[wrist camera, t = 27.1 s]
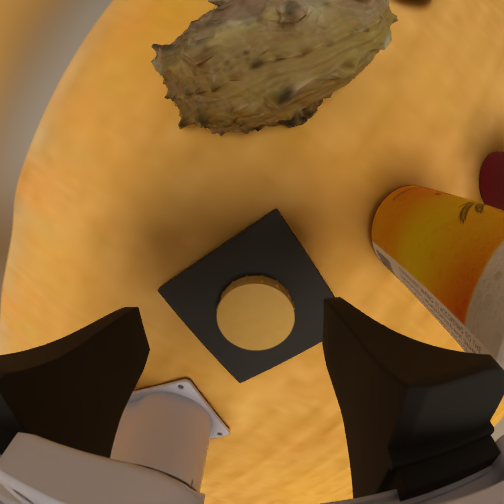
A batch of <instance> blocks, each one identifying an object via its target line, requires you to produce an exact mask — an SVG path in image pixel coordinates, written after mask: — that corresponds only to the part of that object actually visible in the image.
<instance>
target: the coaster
mask: <svg viewBox="0 0 504 504" xmlns="http://www.w3.org/2000/svg"><path fill="white" fill-rule="evenodd" d="M246 275H248V276H262V275H263V276H265V277H268V278H271V279H274V280H275V281H276V280H278V282H279V283H280V284H281V285H283V286H284V287H285V288H286V290H287V289H288V291H289V294H290V296H291V299H292V302H293V301H294V306H295V309H294V313H295V322H294V325H293V328H292V331H291V332H290V334H289V335H288V337H287V338H286V339H285V340H284V341H283V342H281V343H280V344H278V345H276V346H274V347H272V348H269V349H265V350H247V349H243V348H240V347H238V346H236V345H234V344H233V343H231V342H230V341H229V340H227V339H226V338H225V337H224V335H223V334H222V332H221V331H220V329H219V326H218V323H217V311H216V309H217V306H218V303H219V302H220V299H221V295H222V292H223V291H225V289H226V288H227V287H228V286H229V285H230V284H231V283H232V281H236V280H238V279H240V278H243V277H246ZM158 292H159V293H160V294H161V295H162V297H163V298H164V299H165V300H166V302H167V303H168V304H169V305H170V306H171V308H172V309H173V310H174V311H175V312H176V314H177V315H178V316H179V317H180V318H181V319H182V321H183V322H184V323H185V324H186V325H187V326H188V328H189V329H190V330H191V331H192V332H193V333H194V334H195V336H196V337H197V338H198V339H199V340H200V341H201V342H202V343H203V345H204V346H205V347H206V348H207V349H208V350H209V351H210V352H211V353H212V354H213V355H214V357H215V358H216V359H217V360H218V361H219V362H220V363H221V364H222V365H223V366H224V367H225V368H226V369H227V370H228V372H229V373H230V374H231V375H232V376H233V377H234V378H235V379H236V380H237V381H238V382H239V383H241V382H243V381H246V380H248V379H250V378H252V377H254V376H256V375H258V374H260V373H262V372H264V371H267V370H269V369H271V368H273V367H275V366H277V365H279V364H281V363H282V362H284V361H286V360H288V359H290V358H292V357H294V356H296V355H298V354H300V353H302V352H303V351H305V350H307V349H309V348H311V347H313V346H314V345H316V344H318V343H320V342H322V341H323V314H324V299H326V298H335V297H334V295H333V294H332V292H331V291H330V289H329V287H328V286H327V284H326V283H325V281H324V280H323V278H322V276H321V275H320V273H319V272H318V270H317V269H316V267H315V265H314V264H313V262H312V261H311V259H310V258H309V256H308V255H307V253H306V252H305V250H304V249H303V247H302V246H301V244H300V243H299V241H298V239H297V238H296V236H295V235H294V233H293V232H292V230H291V229H290V227H289V226H288V224H287V223H286V222H285V220H284V219H283V217H282V216H281V214H280V213H279V211H278V210H277V209H274V210H273V211H271V212H270V213H268V214H267V215H265V216H264V217H262V218H261V219H259V220H258V221H256V222H255V223H253V224H252V225H250V226H249V227H247V228H246V229H244V230H243V231H241V232H240V233H238V234H237V235H235V236H234V237H233V238H231V239H230V240H228V241H227V242H225V243H224V244H222V245H221V246H219V247H218V248H216V249H215V250H213V251H212V252H210V253H209V254H207V255H206V256H205V257H203V258H202V259H200V260H199V261H197V262H196V263H194V264H193V265H191V266H190V267H188V268H187V269H186V270H184V271H183V272H181V273H180V274H178V275H177V276H175V277H174V278H173V279H171V280H170V281H168V282H167V283H165V284H164V285H163V286H161V287H160V288H159V289H158Z"/></svg>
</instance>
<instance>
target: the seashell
mask: <svg viewBox="0 0 504 504" xmlns="http://www.w3.org/2000/svg"><path fill="white" fill-rule="evenodd" d="M208 1H209V2H211V3H213V4H215V5H217V6H218V8H216V9H213V10H211V11H209V12H208V13H206V14H204V15H202V16H201V17H200V18H199V19H198V20H195V21H192V22H191V23H190V25H189V28H188V29H187V30H185V31H184V33H183V34H182V35H181V36H179V37H178V38H177V39H176V40H175V41H174V42H173V43H171V44H170V45H158V44H153V45H152V48H153V49H154V50H155V51H156V54H157V56H156V57H155V59H154V60H152V61H151V62H152V64H153V66H154V68H155V70H156V71H157V72H159V73H160V75H162V76H163V78H164V81H163V84H165V85H166V86H167V88H168V92H167V95H166V96H165V98H167V99H169V98H171V100H172V101H174V102H175V106H178V108H179V109H180V114H179V115H180V117H181V118H182V119H181V120H180V122H179V124H178V125H179V127H180V129H182V128H184V127H186V126H188V125H190V124H192V123H194V124H195V125H198V126H199V127H200V128H201V127H204V128H210V130H211V132H212V134H214V133H217V132H218V133H219V134H220V135H221V136H222V135H223V134H224V133H225V132H227V131H230V130H231V131H233V132H244V133H246V134H247V133H248V132H249V131H252V130H254V129H256V130H257V131H259V130H261V129H262V128H263V127H264V126H265V125H266V126H270V127H271V126H274V127H275V126H278V125H282V124H284V125H286V126H288V127H289V128H291V127H295V126H298V125H302V124H304V123H305V122H306V121H307V118H309V119H310V118H311V117H312V116H313V115H314V114H315V113H316V111H317V108H318V106H320V105H321V103H322V100H323V99H324V98H330V97H331V95H332V93H333V92H334V91H335V90H337V89H339V88H341V87H343V86H345V85H347V84H348V83H349V82H350V81H351V80H352V79H354V78H355V77H356V76H357V75H358V74H359V73H360V72H361V71H362V70H363V69H364V68H365V67H366V66H367V65H368V64H369V63H370V62H371V61H372V60H373V58H374V56H375V55H376V54H377V53H378V52H379V50H380V49H381V50H384V49H385V48H386V47H387V46H388V44H389V43H390V42H391V30H390V28H389V27H390V26H391V24H392V23H394V22H396V21H398V19H397V16H396V15H394V14H392V12H391V10H390V8H389V0H208Z"/></svg>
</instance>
